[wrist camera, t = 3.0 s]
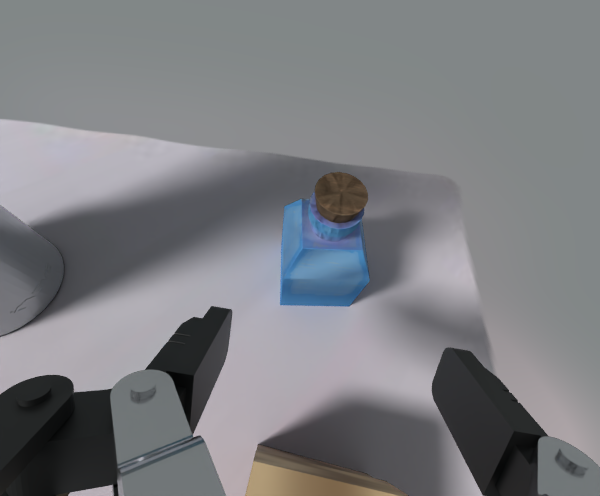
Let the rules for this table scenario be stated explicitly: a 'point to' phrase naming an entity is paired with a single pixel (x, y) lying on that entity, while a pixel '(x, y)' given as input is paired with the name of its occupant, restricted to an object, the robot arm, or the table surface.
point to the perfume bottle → (325, 244)
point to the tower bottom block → (306, 460)
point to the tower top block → (310, 480)
